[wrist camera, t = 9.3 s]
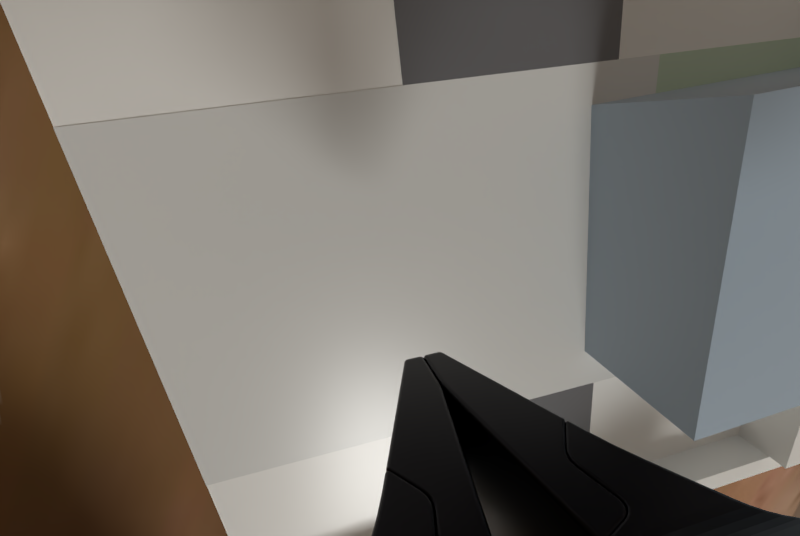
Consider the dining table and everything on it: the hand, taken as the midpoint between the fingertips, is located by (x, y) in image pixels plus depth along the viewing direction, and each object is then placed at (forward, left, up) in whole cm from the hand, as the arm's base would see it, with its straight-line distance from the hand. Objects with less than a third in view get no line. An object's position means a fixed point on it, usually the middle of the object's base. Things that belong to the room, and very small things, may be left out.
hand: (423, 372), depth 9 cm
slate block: (+12, 0, -5) cm, 13 cm away
